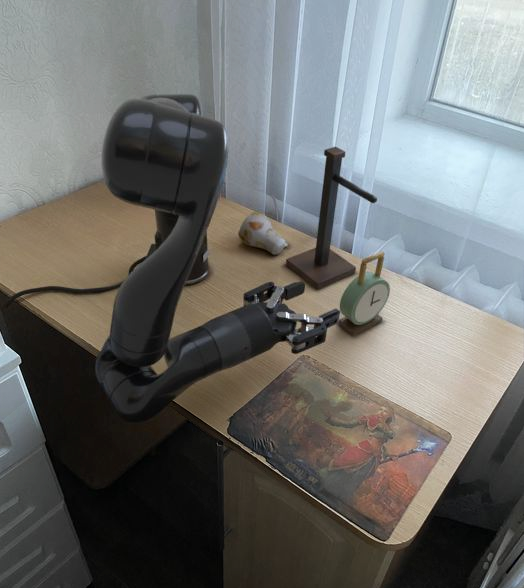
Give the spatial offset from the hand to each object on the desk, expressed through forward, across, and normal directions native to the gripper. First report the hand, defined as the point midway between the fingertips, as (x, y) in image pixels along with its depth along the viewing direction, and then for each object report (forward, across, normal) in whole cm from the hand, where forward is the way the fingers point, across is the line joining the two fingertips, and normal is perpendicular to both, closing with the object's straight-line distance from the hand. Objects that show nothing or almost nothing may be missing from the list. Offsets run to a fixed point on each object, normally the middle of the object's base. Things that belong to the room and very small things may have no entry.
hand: (320, 300), depth 85 cm
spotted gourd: (+11, +30, +10) cm, 33 cm away
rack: (+16, +14, +10) cm, 23 cm away
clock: (+11, 0, +10) cm, 15 cm away
